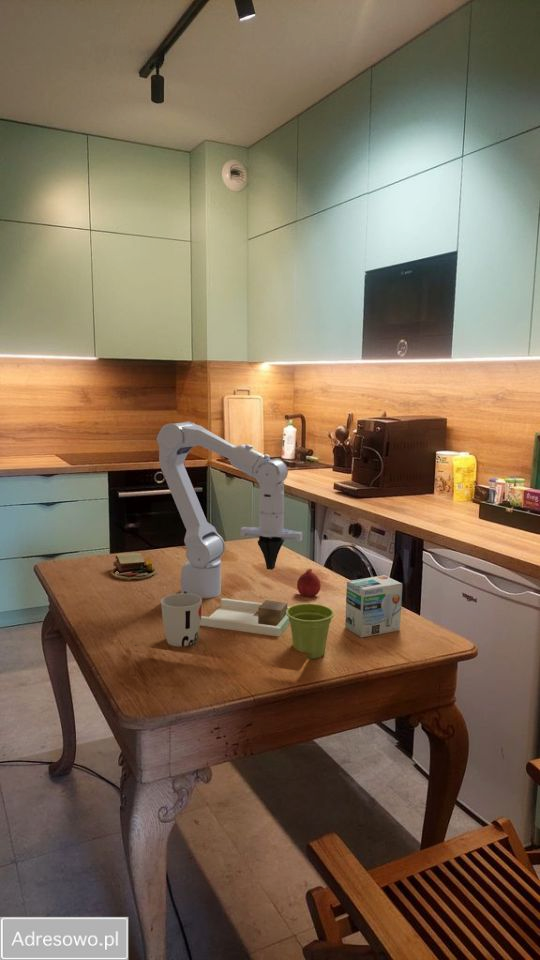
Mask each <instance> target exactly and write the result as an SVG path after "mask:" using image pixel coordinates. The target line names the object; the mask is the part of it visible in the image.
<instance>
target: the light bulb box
mask: <svg viewBox="0 0 540 960" xmlns="http://www.w3.org/2000/svg"><path fill="white" fill-rule="evenodd" d="M345 595H346V597H345V622H344V623H345V626H344V628H346V630H347V629H348V630H349V631H350V632H352V633H354V634H355V635H357V636H358V637H360V638H366V637H372V636H376V635H382V634H385V633H391V632H397V631H401V630H400V629H401V616H402V614H401V613H402V600H403V599H402V598H403V583H402V582H399V581H397V580H395V579H393V578H391V577H389V576H388V575H385V574H383V575H377V576H372V577H366V578H360V579H354V580H353V579H351V580H346V594H345Z"/></svg>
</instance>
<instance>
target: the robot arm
mask: <svg viewBox="0 0 540 960" xmlns="http://www.w3.org/2000/svg"><path fill="white" fill-rule="evenodd" d="M156 442H157V445H158V458H159V459H158V463H159V467H160V469H161V472H162V475H163V477H164V478H165V481H166V484H167V487H168V489H169V491H170V493H171V496H172V498H173V500H174V504H175V505H176V508H177V511H178V512H179V515H180V518H181V520H182V523H183V525H184V528H185V529H186V532H185V535H184V539H183V541H184V545H185V555H186V559H187V561H186V562H184V563H183V566H182V568H181V570H180V571H181V572H180V594H182V593H185V594H194V595H197V596H200V597H201V598H202V599H211V598H217V597H218V596H220V595H221V593H222V588H221V587H222V581H221V580H222V561H221V560H222V559H221V558H222V557H221V556H223V555H224V553H225V551H226V544H225V543H226V542H225V540H224V539H223V537H222V536H221V535H220V534H219V533H218V531H217V530H216V527H215V526H213V524H211V523H210V522H208V521H207V518H206V516H205V514H204V511H203V509H202V506H201V503H200V501H199V498H198V496H197V494H196V491H195V488H194V486H193V484H192V482H191V481H192V480H191V479H190V477H189V475H188V472H187V469H186V466H185V465H184V464H185V463H184V462H185V461H186V458H187V456H188V454H189V453H190V452H191V451H192V449H193V448H194V447H202V448H204V449H207V450H209V451H211V452H213V453H216V454H218V455H220V456H222V457H224V458H227V459H228V460H229V462H230V465H231V466H232V467H233V468H235V469H237V470H239V471H241V472H242V473H244V474H246V475H248V476H250V477H252V478H254V479H256V482H257V483H258V485H259V497H258V498H259V499H258V501H259V506H258V507H259V509H258V510H259V511H258V513H259V514H258V516H259V517H258V527H256V526H243V527H241V528H240V537H243V538H245V537H253V538H258V540H257V545H258V547H259V549H260V551H261V553H262V556H263V558H264V562H265V565H266V570H271V571H272V570H274V569H275V568H276V562H277V559H278V556H279V552H280V550H281V549H282V546H283V545H284V541H295V542H297V543H301V542H302V541H303V531H296V530H290V529H287V528H285V527H284V526H285V525H284V524H285V523H284V522H285V521H284V519H285V517H284V516H285V515H284V514H285V482H284V481H285V480H286V479H287V478H288V473H289V470H288V466H287V464H286V463H285V461H282V460H281V459H280V458H271V455H269V454H267V453H266V454H263V453H261V452H259V451H257V450H255V449H253V445H251V444H246V445H245V444H240V445H237V446H236V445H234V444H232V443H231V442H229V441H228V440H225V439H224V438H222V437H220V436H218V435H216V434H215V433H213V432H211V431H210V430H208V429H206V428H205V427H204V426H202V425H200V424H195V422H192V421H188V420H187V421H183V422H176V423H167V424H164V425H163V426H162V427H161V429H160V430H159V432H158V434H157V437H156Z"/></svg>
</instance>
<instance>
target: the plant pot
mask: <svg viewBox="0 0 540 960" xmlns="http://www.w3.org/2000/svg"><path fill="white" fill-rule="evenodd" d="M286 614H287V616H288V618H289V622H290V624H289V625H290V629H291V637H292V638H291V639H292V647H293V649H294V650H297V651H298V652H301V653H308V655H307V657H306V659H309V660H313V659H318V658H321V657H323V656H324V654H326V653H325V652H326V646H327V640H328V634H329V627H330V624H331V621H332V618H333V617H334V614H335V613H334V610H333V609H332V608H330V607H328V606H326V605H323V604H317V603H300V604H295V605H291V606H289V608H288V609H287V610H286Z"/></svg>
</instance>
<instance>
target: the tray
mask: <svg viewBox="0 0 540 960" xmlns="http://www.w3.org/2000/svg"><path fill="white" fill-rule="evenodd" d="M262 603H263V602H256V601H248V600H241V599H233V598H225V597H222V598H220V607H218V608H216V610H215V611H213V613H212V614H210V616H205V615H204V616H203V615H201V622H200V627H201V626H203V627H210V628H216V629H224V630H230V631H237V632H244V633H252V634H259V635H265V636H272V637H281V635H282V634H283V632H284V631H285V630H286V629H287V627H289V625H291V624H290V622H289V618H288V616H287V614H286V615H285V616H284V618H283V619H282V620H281V621H280V622H279V624H278V625H277V626H271V625H264V624H258V616H256V614H257V613H258V608H259V607H260V606H261V605H262ZM289 607H290V606H288V605H287V609H288V608H289Z"/></svg>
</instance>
